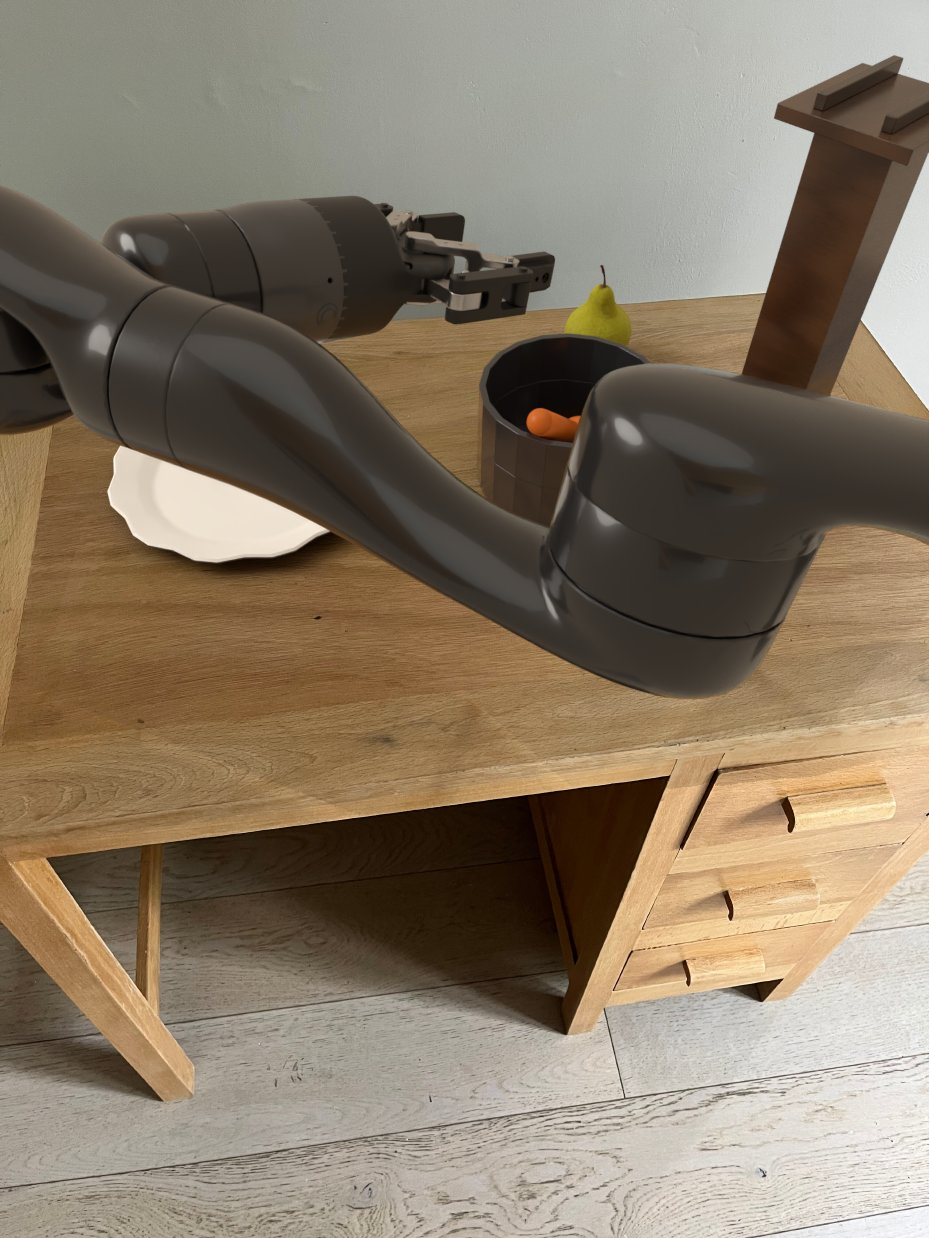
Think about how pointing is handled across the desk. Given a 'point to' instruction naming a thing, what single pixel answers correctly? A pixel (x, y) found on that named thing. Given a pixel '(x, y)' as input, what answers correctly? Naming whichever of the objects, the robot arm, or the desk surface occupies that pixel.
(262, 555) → the plate
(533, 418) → the carrot
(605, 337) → the fruit
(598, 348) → the pot
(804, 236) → the stand
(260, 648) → the desk surface
